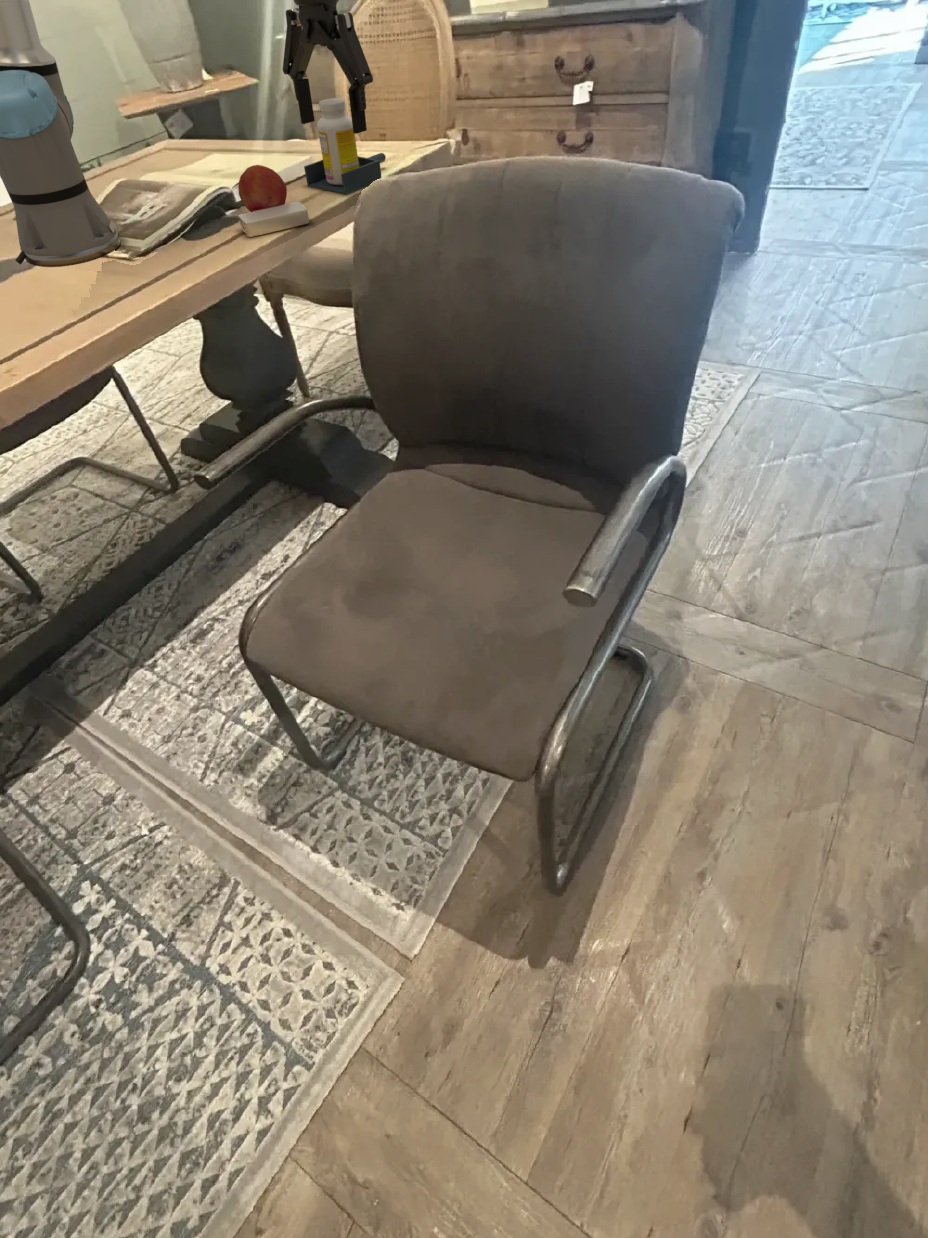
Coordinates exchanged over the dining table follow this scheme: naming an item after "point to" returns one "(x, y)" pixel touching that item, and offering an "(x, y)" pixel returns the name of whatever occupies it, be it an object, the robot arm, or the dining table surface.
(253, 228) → the multiport hub
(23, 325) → the dining table surface
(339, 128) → the supplement bottle
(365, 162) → the scoop
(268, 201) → the fruit
